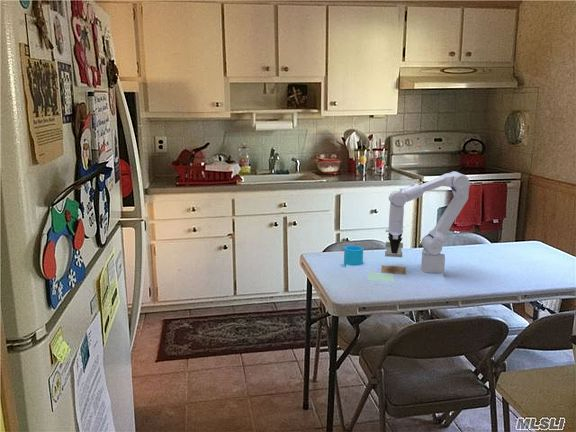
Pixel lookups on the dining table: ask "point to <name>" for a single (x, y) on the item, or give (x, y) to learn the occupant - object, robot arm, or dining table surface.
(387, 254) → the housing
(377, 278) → the stand
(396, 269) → the stand
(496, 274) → the dining table surface
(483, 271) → the dining table surface
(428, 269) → the robot arm
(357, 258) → the mug
